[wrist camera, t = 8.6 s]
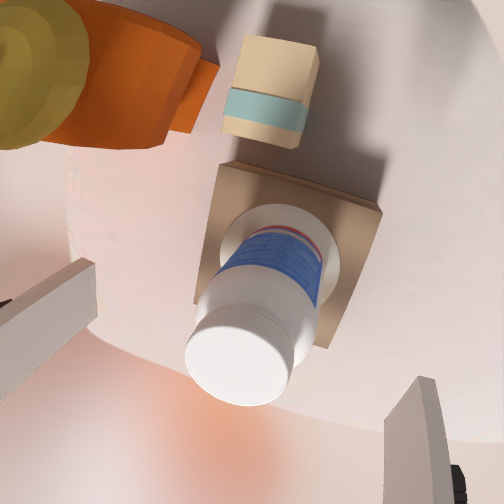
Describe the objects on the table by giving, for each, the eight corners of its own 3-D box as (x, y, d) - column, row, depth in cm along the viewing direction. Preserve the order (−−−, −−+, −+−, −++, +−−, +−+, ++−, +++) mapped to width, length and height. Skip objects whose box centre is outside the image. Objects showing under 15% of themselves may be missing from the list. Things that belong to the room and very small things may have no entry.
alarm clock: (243, 66, 19) (-53, -57, 1) (208, 145, 22) (-106, 223, 3) (107, 28, 20) (-110, 0, 2) (82, 92, 22) (-135, 114, 4)
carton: (260, 50, 18) (243, 33, 15) (320, 63, 18) (317, 46, 14) (240, 132, 21) (219, 132, 17) (299, 147, 20) (290, 149, 16)
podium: (234, 160, 21) (218, 164, 19) (376, 203, 20) (383, 213, 17) (208, 285, 25) (192, 304, 23) (329, 326, 24) (327, 349, 21)
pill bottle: (231, 227, 20) (147, 302, 11) (319, 217, 18) (300, 298, 9) (247, 306, 21) (189, 411, 13) (328, 302, 20) (313, 420, 11)
